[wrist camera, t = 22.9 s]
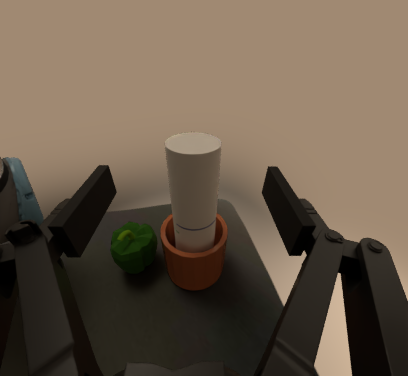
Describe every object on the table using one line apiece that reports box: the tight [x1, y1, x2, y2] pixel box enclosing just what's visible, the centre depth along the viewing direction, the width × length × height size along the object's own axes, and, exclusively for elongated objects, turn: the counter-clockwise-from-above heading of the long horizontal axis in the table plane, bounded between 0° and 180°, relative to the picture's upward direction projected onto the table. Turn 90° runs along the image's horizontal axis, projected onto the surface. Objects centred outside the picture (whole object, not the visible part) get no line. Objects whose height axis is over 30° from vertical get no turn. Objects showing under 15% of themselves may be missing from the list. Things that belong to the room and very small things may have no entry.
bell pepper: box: [110, 222, 157, 274], centre depth 37 cm, size 8×8×10 cm
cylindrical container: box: [165, 132, 221, 253], centre depth 32 cm, size 7×7×25 cm
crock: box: [161, 213, 228, 290], centre depth 37 cm, size 12×12×10 cm
